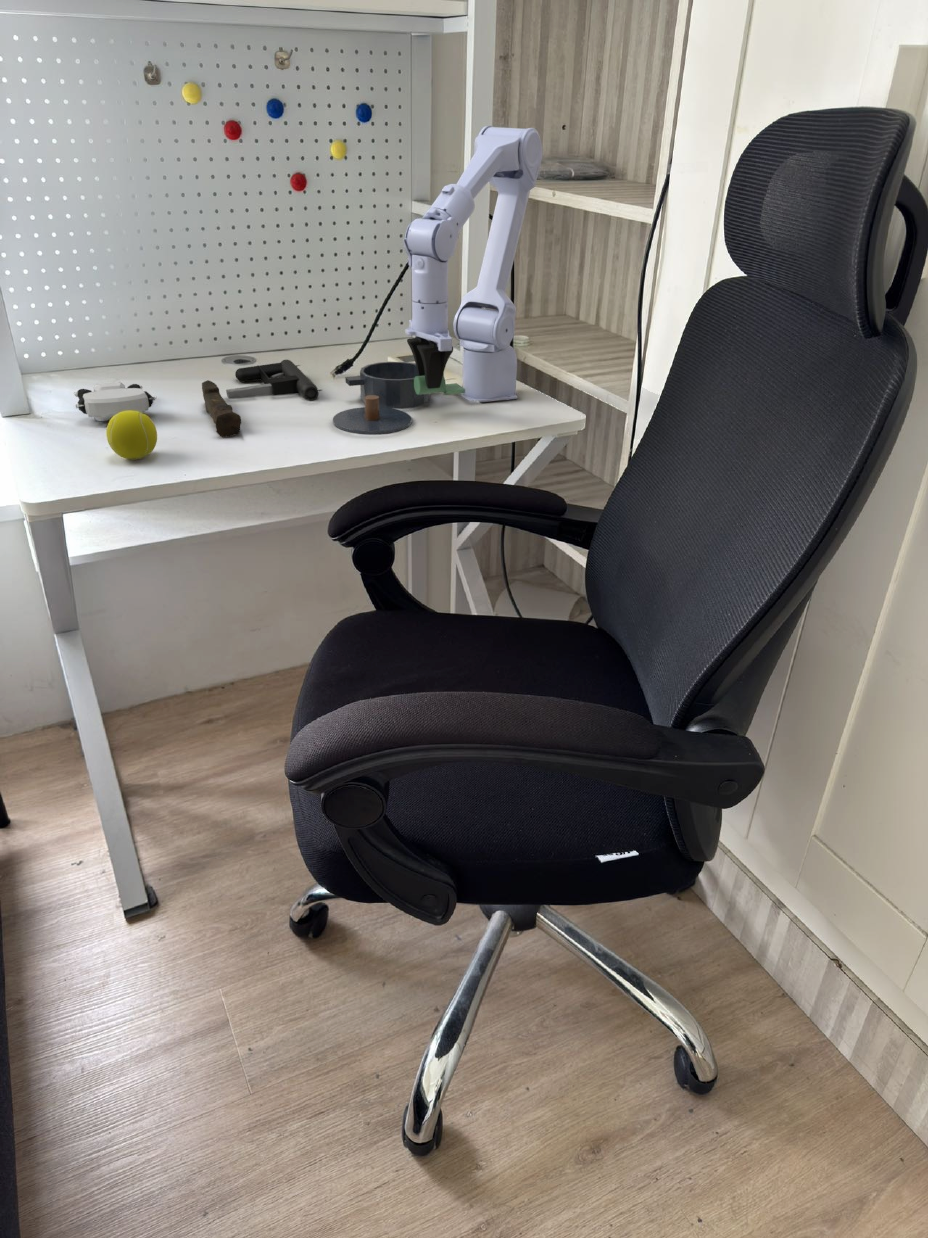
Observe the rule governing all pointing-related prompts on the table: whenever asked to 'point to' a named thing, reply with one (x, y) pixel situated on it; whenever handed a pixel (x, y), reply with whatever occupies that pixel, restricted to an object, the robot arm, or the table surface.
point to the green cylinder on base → (445, 388)
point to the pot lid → (372, 418)
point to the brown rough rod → (220, 411)
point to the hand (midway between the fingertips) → (429, 384)
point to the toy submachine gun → (274, 381)
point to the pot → (390, 384)
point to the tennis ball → (131, 434)
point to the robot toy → (112, 400)
